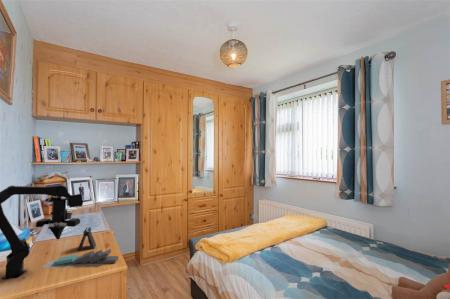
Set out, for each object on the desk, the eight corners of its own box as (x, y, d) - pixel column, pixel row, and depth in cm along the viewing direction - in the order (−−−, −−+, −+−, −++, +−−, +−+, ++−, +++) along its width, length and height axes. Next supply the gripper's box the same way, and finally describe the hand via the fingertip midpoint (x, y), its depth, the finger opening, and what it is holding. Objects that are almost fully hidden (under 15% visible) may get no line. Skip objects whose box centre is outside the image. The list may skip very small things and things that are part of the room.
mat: (100, 266, 118) (100, 265, 118) (40, 268, 114) (40, 267, 114) (106, 258, 126) (106, 258, 126) (51, 260, 123) (51, 259, 123)
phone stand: (76, 251, 135) (77, 230, 135) (79, 247, 140) (80, 227, 140) (94, 249, 138) (94, 229, 138) (96, 245, 143) (96, 226, 143)
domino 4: (91, 263, 119) (107, 255, 120) (89, 260, 119) (106, 252, 120) (95, 259, 124) (111, 251, 125) (94, 256, 124) (110, 248, 125)
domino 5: (96, 263, 119) (115, 263, 121) (96, 260, 119) (115, 260, 121) (100, 259, 124) (118, 258, 126) (100, 256, 124) (118, 255, 126)
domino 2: (73, 264, 118) (90, 257, 119) (71, 262, 118) (89, 254, 119) (77, 260, 123) (94, 252, 124) (76, 257, 123) (93, 250, 124)
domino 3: (82, 264, 119) (99, 256, 120) (80, 261, 118) (97, 253, 120) (86, 260, 123) (102, 252, 125) (85, 257, 123) (101, 249, 125)
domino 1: (54, 265, 117) (72, 261, 118) (53, 262, 117) (72, 258, 118) (59, 260, 122) (77, 257, 123) (59, 258, 122) (77, 254, 123)
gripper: (85, 205, 129) (84, 233, 129) (49, 205, 127) (48, 234, 126) (75, 210, 118) (74, 240, 118) (35, 210, 116) (34, 241, 115)
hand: (58, 239), depth 120 cm, fingers closed
